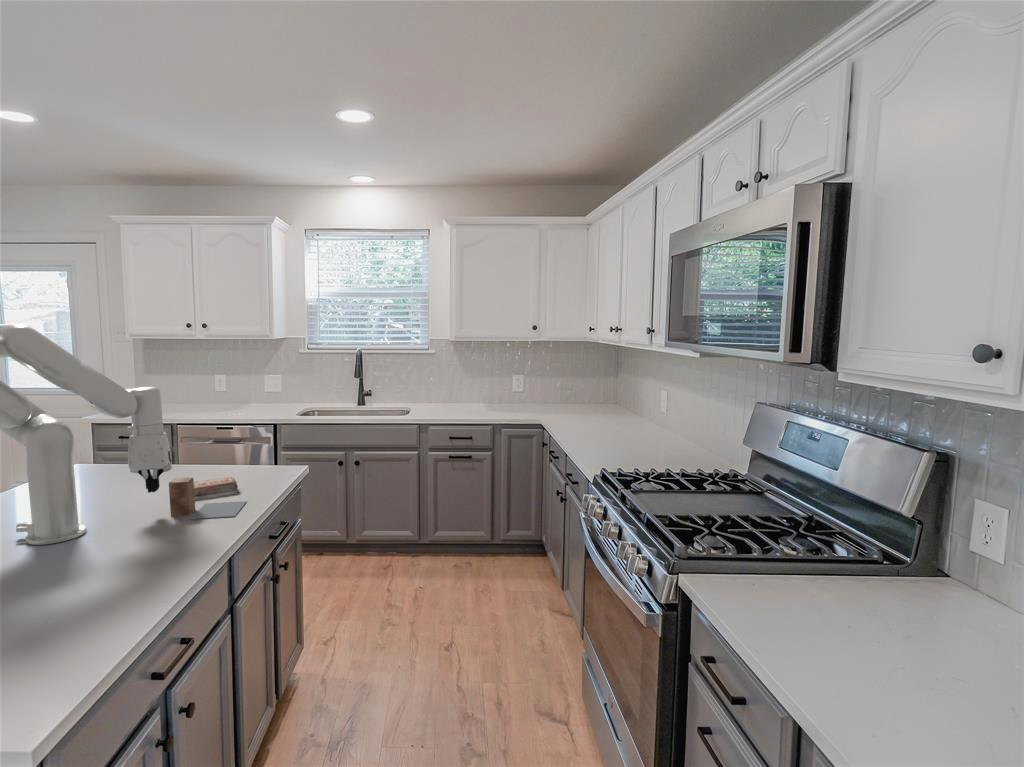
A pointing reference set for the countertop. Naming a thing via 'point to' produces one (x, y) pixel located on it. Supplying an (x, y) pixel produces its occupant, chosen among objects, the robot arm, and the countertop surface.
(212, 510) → the rubber mat
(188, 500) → the walnut block
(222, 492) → the packaged product
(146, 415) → the robot arm
